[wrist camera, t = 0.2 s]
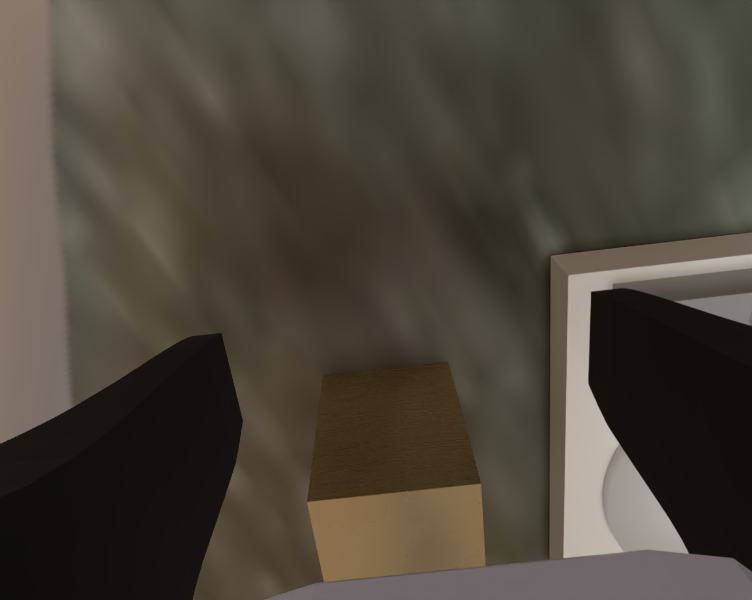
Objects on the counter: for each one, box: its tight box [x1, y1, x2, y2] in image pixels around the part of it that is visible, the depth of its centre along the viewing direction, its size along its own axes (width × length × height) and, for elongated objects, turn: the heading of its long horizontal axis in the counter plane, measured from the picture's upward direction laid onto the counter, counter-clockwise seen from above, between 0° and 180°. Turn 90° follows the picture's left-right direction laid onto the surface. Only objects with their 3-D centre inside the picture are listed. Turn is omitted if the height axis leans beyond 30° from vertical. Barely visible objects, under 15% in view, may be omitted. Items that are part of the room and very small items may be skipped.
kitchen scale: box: [549, 232, 752, 559], centre depth 22 cm, size 15×13×5 cm
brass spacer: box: [307, 362, 486, 582], centre depth 21 cm, size 5×5×7 cm
